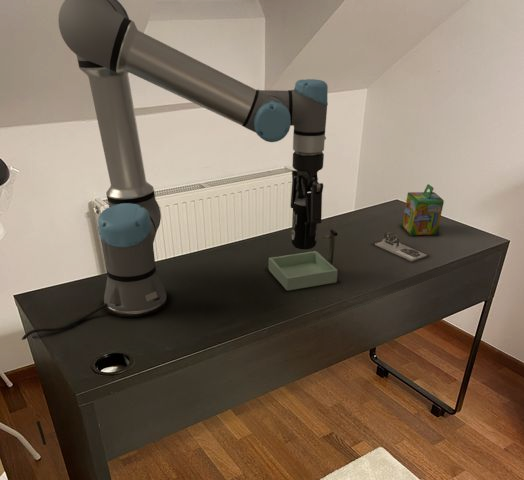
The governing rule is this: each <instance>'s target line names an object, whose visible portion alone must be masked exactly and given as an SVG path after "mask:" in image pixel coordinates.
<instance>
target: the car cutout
mask: <svg viewBox="0 0 524 480" xmlns="http://www.w3.org/2000/svg"><path fill="white" fill-rule="evenodd" d="M374 245H375V247H379V248H381V249H383V250H385V251H387V252H390V253H392V254H394V255H396V256H399V257H400V258H403V259H405V260H407V261H409V262H415V261H417V260H420V259H423V258H426V257H428V254H426V253H423V252H421V251H419V250H416V249H414V248H412V247H410V246H408V245H405V244H403V243H401V242H400V238H399V237H398V236H397V233H396V232H393V231H391V230H390V231H388V232H385V233H384V236H383V238H382V240H381V241H379V242H375V243H374Z"/></svg>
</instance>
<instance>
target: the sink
mask: <svg viewBox="0 0 524 480" xmlns="http://www.w3.org/2000/svg"><path fill="white" fill-rule="evenodd" d="M268 271H269V272H270V273H271V274H272V275H273V277H274V278H275V279H276V280H277V281H278V282H279V284H281V286H282V287H283V288H284V289H285V290H286V291H294V290H299V289H300V290H301V289H306V288H311V287H317V286H323V285H328V284H335V283H338V282H337V281H338V272H339V271H338V269H337V268H336V267H335V266H333V265H331V264H330V263H329V262H328V259H325V258H324V256H323V255H322V254H320V252H318V251H317V250H313V251H307V252H301V253H299V252H298V253H293V254H288V255H280V256H272V257H268Z"/></svg>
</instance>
